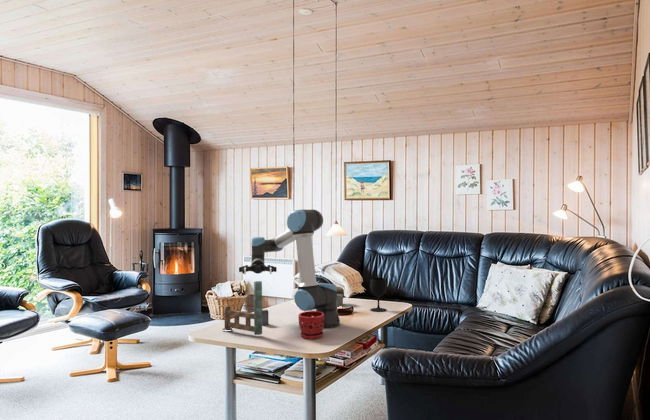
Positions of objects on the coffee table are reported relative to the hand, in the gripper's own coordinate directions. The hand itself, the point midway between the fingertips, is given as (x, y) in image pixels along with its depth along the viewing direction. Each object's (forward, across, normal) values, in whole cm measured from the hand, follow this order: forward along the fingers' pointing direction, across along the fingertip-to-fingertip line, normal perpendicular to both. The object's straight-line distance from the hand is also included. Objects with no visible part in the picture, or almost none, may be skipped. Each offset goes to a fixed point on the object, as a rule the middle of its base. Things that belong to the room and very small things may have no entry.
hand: (257, 271), depth 273 cm
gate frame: (-9, +6, -32) cm, 34 cm away
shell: (-64, -52, -32) cm, 88 cm away
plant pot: (+16, -27, -31) cm, 44 cm away
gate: (+4, +8, -30) cm, 32 cm away
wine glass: (-42, -76, -32) cm, 92 cm away
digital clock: (-45, -46, -32) cm, 72 cm away
